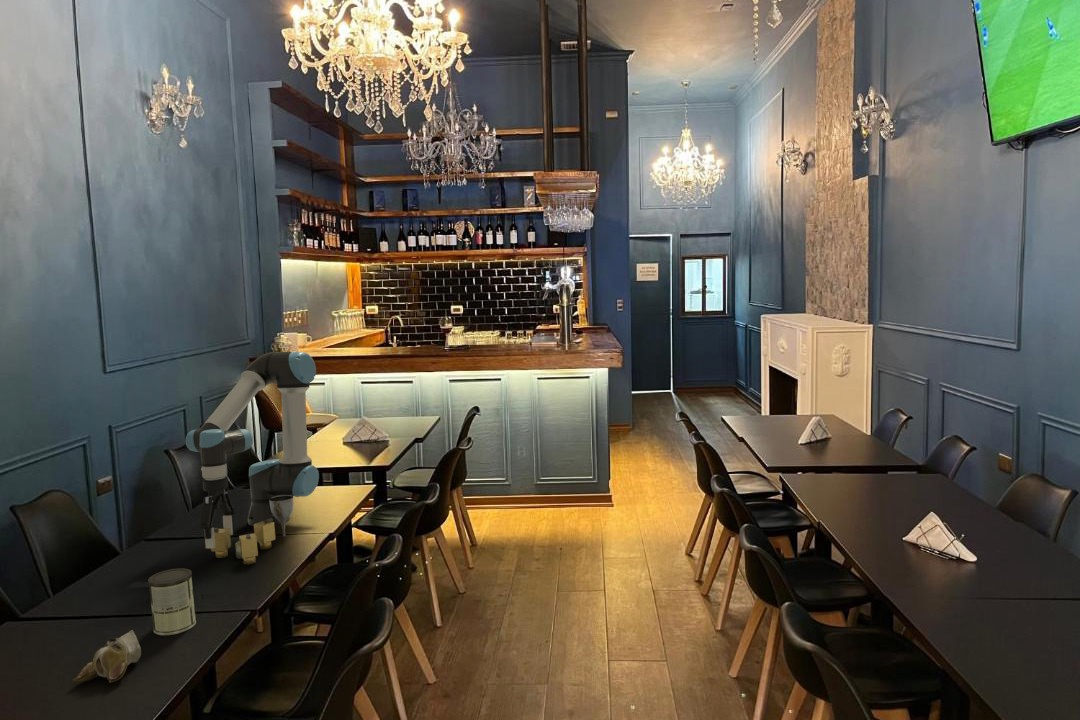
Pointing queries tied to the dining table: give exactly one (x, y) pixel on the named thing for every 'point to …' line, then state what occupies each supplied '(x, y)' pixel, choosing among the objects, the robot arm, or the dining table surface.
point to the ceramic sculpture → (112, 658)
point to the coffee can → (172, 601)
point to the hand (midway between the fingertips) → (219, 541)
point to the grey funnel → (282, 508)
